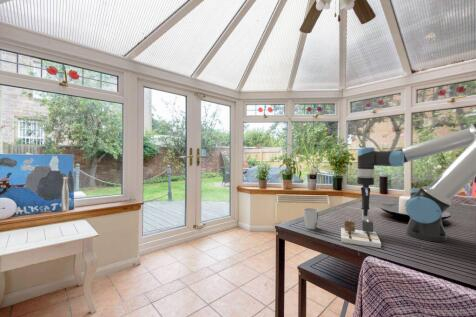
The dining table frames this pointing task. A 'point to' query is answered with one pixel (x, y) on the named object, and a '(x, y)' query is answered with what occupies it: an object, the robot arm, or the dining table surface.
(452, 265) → the dining table surface
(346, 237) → the white flat slab
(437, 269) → the dining table surface
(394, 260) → the dining table surface
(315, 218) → the cup
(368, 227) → the fader
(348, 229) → the fader
